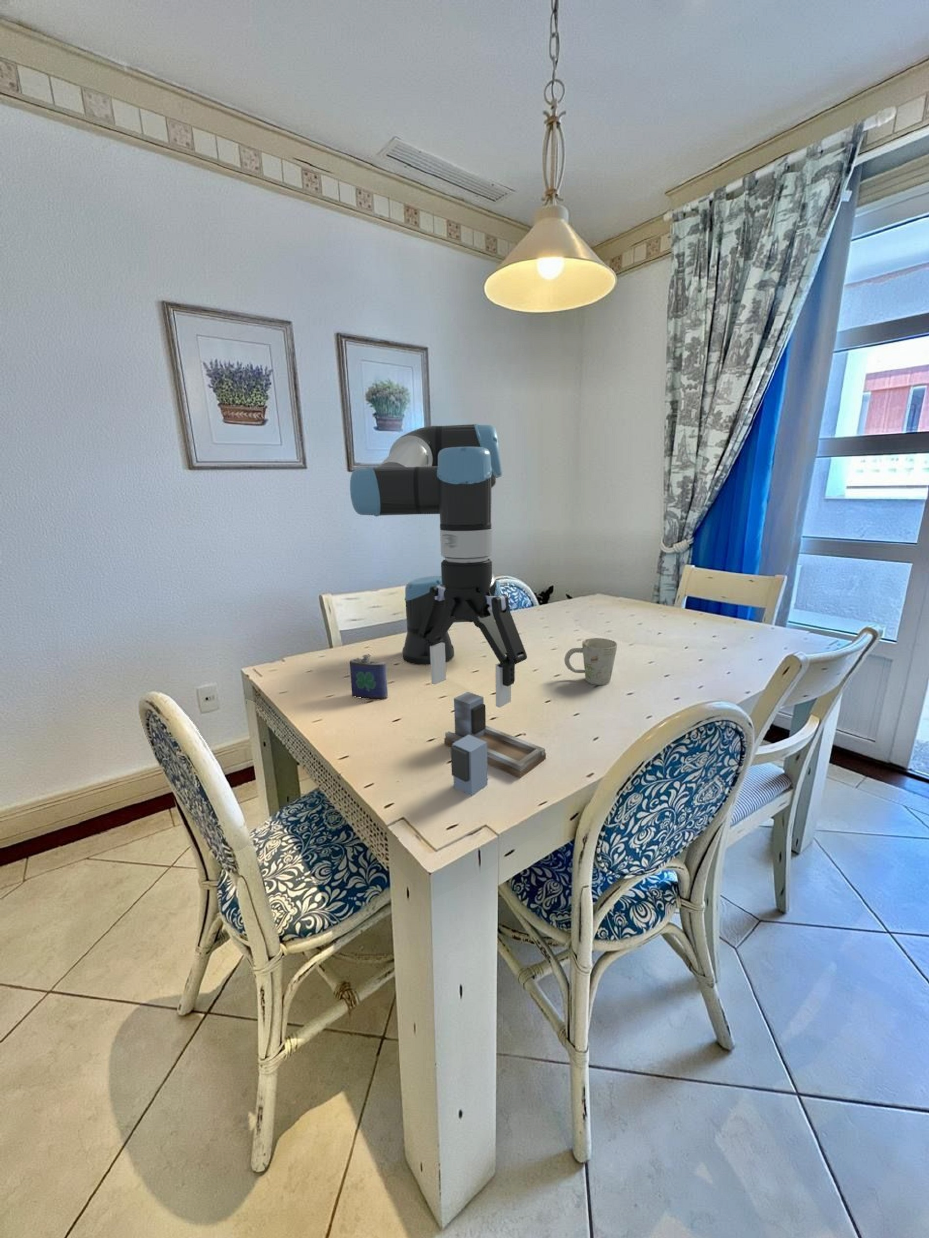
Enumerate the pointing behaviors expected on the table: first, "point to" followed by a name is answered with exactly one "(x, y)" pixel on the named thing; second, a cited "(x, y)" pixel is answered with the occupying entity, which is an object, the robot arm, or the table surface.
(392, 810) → the table surface
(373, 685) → the flask
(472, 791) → the blue-grey rectangular block
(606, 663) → the mug
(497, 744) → the rail board
